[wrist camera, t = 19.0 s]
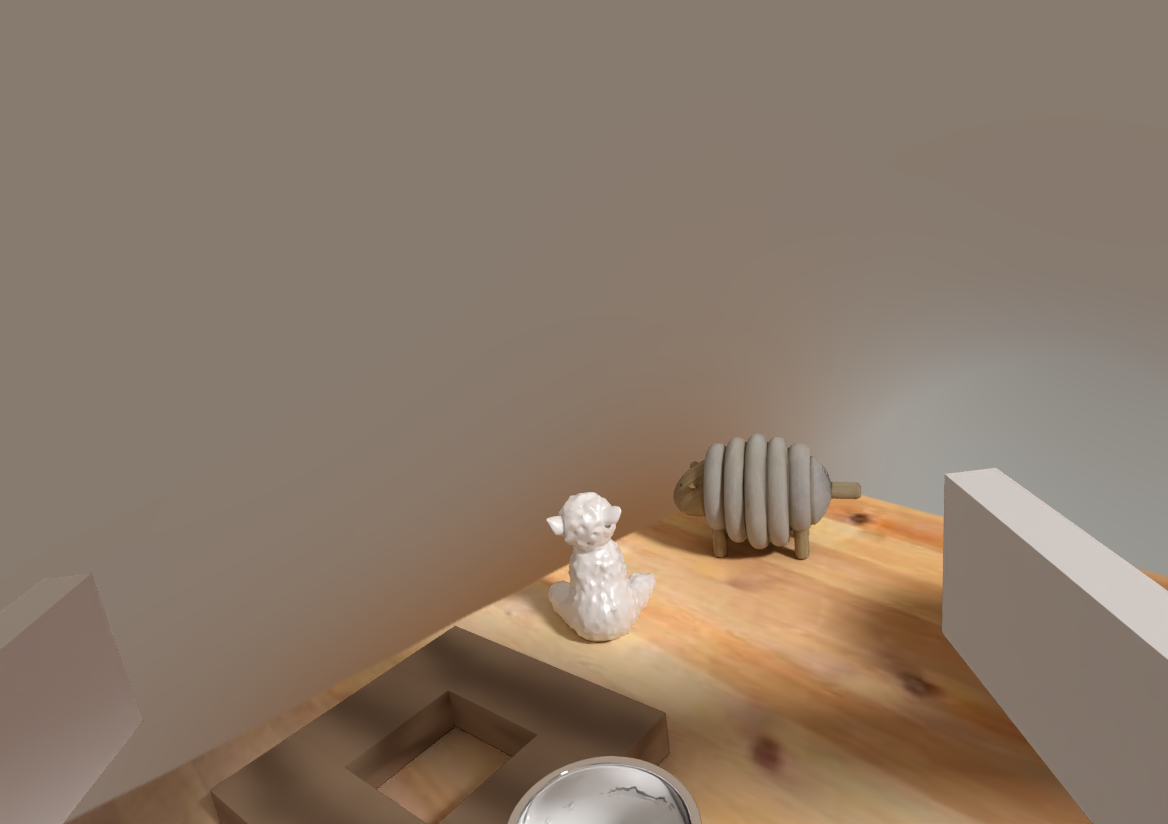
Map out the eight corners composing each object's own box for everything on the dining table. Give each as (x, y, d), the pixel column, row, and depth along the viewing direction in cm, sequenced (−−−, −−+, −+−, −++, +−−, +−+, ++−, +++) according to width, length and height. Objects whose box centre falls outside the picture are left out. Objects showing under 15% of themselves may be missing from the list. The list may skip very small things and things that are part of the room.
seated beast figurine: (656, 587, 70) (642, 462, 66) (668, 643, 61) (654, 504, 58) (550, 600, 70) (531, 476, 66) (549, 658, 62) (527, 520, 58)
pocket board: (461, 658, 63) (455, 625, 62) (669, 752, 50) (665, 712, 49) (222, 828, 49) (209, 790, 48) (429, 1020, 36) (417, 972, 35)
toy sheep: (682, 523, 81) (673, 422, 78) (853, 520, 77) (851, 413, 74) (673, 576, 71) (662, 463, 68) (869, 574, 67) (867, 454, 64)
